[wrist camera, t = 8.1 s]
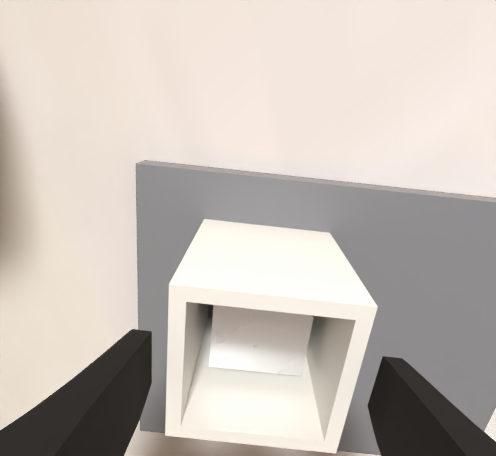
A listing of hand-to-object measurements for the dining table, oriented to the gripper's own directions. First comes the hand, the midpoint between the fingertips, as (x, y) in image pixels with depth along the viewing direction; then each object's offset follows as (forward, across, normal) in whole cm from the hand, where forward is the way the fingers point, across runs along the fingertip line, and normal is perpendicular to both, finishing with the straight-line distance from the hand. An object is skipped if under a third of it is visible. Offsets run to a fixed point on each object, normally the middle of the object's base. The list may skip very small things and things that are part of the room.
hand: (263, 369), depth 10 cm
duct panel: (+7, -4, +3) cm, 9 cm away
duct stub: (+7, 0, 0) cm, 7 cm away
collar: (+6, 0, 0) cm, 6 cm away
